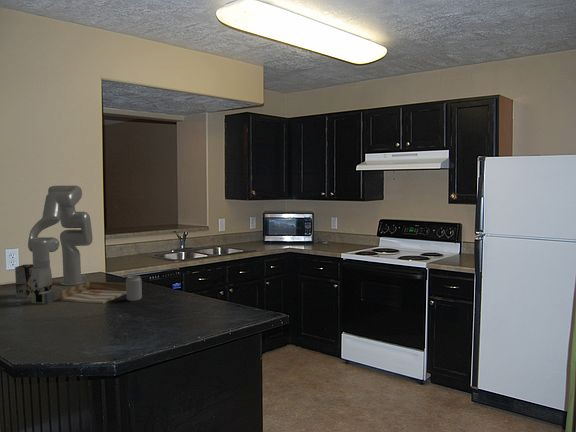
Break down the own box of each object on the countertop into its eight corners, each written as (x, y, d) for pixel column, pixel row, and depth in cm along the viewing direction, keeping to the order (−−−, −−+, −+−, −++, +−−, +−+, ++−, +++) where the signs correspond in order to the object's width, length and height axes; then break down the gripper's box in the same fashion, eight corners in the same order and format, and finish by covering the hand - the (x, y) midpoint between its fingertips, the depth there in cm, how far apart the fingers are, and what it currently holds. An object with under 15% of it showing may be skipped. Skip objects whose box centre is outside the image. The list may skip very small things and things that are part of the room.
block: (38, 300, 256) (38, 290, 256) (54, 301, 254) (54, 291, 254) (31, 303, 251) (31, 293, 251) (47, 304, 249) (47, 293, 249)
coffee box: (28, 298, 262) (26, 267, 261) (15, 298, 262) (14, 267, 261) (37, 293, 271) (35, 263, 270) (25, 293, 271) (23, 264, 270)
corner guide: (89, 290, 278) (89, 281, 278) (129, 292, 273) (129, 283, 272) (60, 301, 255) (60, 291, 254) (103, 303, 249) (102, 293, 249)
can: (144, 298, 260) (143, 274, 259) (138, 301, 252) (137, 277, 252) (130, 297, 261) (129, 274, 260) (123, 301, 253) (123, 277, 252)
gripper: (46, 261, 260) (48, 296, 262) (22, 267, 244) (24, 304, 245) (59, 261, 258) (60, 297, 260) (35, 267, 242) (37, 305, 243)
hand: (43, 300), depth 252 cm, fingers closed on block, 5 cm apart
